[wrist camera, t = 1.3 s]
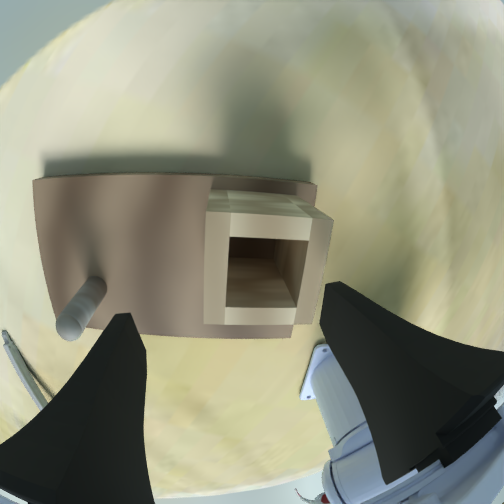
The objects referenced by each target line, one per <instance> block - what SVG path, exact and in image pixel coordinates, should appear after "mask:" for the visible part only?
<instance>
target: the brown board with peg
mask: <svg viewBox="0 0 504 504" xmlns="http://www.w3.org/2000/svg"><path fill="white" fill-rule="evenodd" d="M210 189H217V190H235V191H250V192H263V193H276V194H287V195H297V196H298V197H300V198H301V199H303V200H305V201H306V202H308V203H309V204H311V205H312V206H315V199H316V192H317V185H315V184H313V183H311V182H304V181H295V180H285V179H275V178H264V177H252V176H238V175H222V174H201V173H161V172H138V173H99V174H79V175H64V176H52V177H42V178H39V179H35V180H33V199H34V211H35V221H36V229H37V236H38V243H39V249H40V255H41V260H42V266H43V270H44V275H45V280H46V284H47V288H48V292H49V296H50V300H51V303H52V307H53V310H54V314H55V317H56V330H57V332H58V334H59V335H60V337H61V338H63V339H64V340H67V341H74V340H77V339H78V338H79V337H80V336H81V334H82V333H83V331H84V329H85V327H86V328H93V329H101V330H104V329H105V328H106V326H107V325H108V324H109V322H110V321H111V319H112V318H113V316H114V315H115V314H119V313H129V312H131V315H132V317H133V320H134V322H135V325H136V327H137V330H138V332H139V334H147V335H160V336H174V337H193V338H224V339H270V338H291V334H292V329H293V325H294V324H293V325H219V324H204V252H205V224H206V209H207V204H208V199H209V194H210ZM275 244H276V239H270V238H250V237H229V253H228V257H232V258H257V259H274V251H275Z"/></svg>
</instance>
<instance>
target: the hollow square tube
mask: <svg viewBox="0 0 504 504" xmlns="http://www.w3.org/2000/svg"><path fill="white" fill-rule="evenodd" d="M333 222H334V220H333V219H331V218H330V217H329V216H327V215H326V214H324V213H323V212H321V211H320V210H318V209H317V208H315V207H314V206H312V205H311V204H309V203H308V202H306V201H305V200H303V199H301V198H300V197H298V196H297V195H287V194H276V193H263V192H250V191H235V190H217V189H210V194H209V199H208V204H207V209H206V224H205V252H204V324H219V325H293V324H312V322H313V318H314V314H315V310H316V305H317V301H318V297H319V292H320V288H321V283H322V279H323V274H324V269H325V264H326V259H327V254H328V249H329V244H330V239H331V233H332V227H333ZM229 237H250V238H270V239H276V244H275V251H274V259H257V258H232V257H228V253H229Z"/></svg>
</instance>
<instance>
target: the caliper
mask: <svg viewBox="0 0 504 504" xmlns="http://www.w3.org/2000/svg"><path fill="white" fill-rule="evenodd" d="M2 337H3V339H4V342H5V344H4V345H3V346H4V348H5V350H6V352H7V354H8V357H9V359H10V360H11V362H12V364H13V366H14V368H15V370H16V372H17V374H18V376H19V377H20V379H21V381H22V383H23V384H24V386H25V388H26V389H27V391H28V392H29V394H30V396H31V397H32V399H33V400H34V402H35V403H36V405H37V406H38V408H39V409H40V411H41V410H42V409H43V408H44V407H45V406H46V405H47V404H48V402H47V400H46V399H45V397H44V396H43V394H42V393H41V391H40V389H39V388H38V386H37V384H36V383H35V381H34V379H33V377H32V375H31V374H30V372H29V370H28V368H27V366H26V364H25V362H24V360H23V358H22V356H21V354H20V352H19V350H18V349H17V347H16V346H15V344H14V343H13V341H11V340H10V338H9V335H8V333H7V332H6V331H3V332H2Z"/></svg>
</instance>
